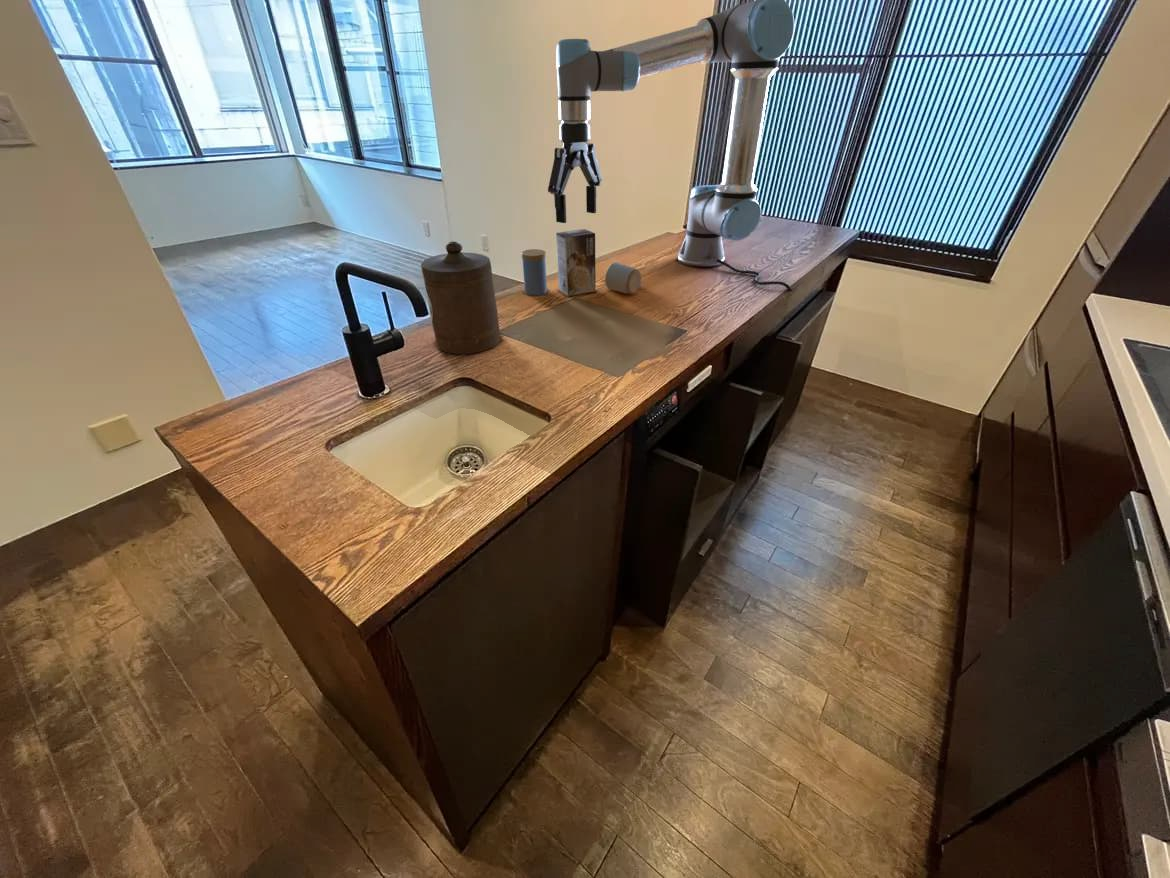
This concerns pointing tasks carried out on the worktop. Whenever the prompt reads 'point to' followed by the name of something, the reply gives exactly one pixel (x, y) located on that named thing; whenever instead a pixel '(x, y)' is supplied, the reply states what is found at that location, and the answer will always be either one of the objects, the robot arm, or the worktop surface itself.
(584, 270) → the coffee box
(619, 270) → the ceramic mug
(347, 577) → the worktop surface
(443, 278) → the wooden container
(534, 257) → the tea tin
